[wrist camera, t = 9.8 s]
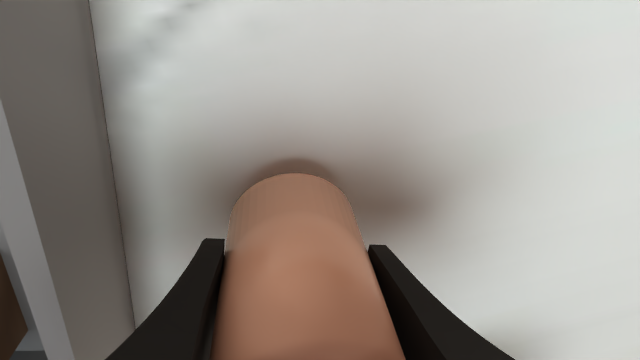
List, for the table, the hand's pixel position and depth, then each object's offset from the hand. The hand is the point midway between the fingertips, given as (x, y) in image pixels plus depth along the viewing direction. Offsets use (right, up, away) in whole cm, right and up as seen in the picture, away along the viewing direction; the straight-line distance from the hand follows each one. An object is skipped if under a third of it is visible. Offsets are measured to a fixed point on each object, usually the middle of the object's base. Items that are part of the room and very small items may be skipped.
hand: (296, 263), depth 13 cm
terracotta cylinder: (0, +1, +2) cm, 2 cm away
